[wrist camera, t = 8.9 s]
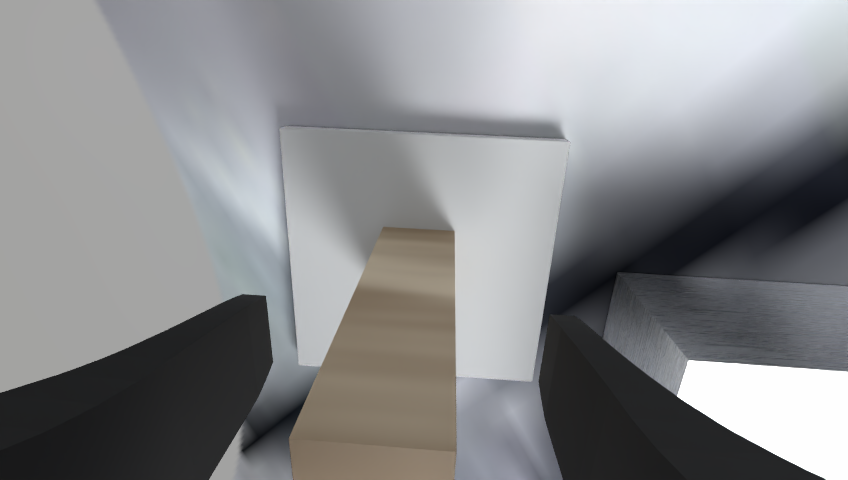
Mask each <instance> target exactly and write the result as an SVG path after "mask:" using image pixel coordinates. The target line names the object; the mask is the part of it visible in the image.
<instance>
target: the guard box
mask: <svg viewBox="0 0 848 480" xmlns="http://www.w3.org/2000/svg"><path fill="white" fill-rule="evenodd" d="M603 339H604V340H605V341H606V342H607V343H609V344H610V345H611V346H612V347H613V348H615V349H616V350H617V351H618V352H619V353H621V354H622V355H623V356H624V357H626V358H627V359H628V360H629V361H630V362H632V363H633V364H634V365H636V366H637V367H638V368H639V369H641V370H642V371H643V372H645V373H646V374H647V375H649V376H650V377H651V378H653V379H654V380H655V381H657V382H658V383H660V384H661V385H662V386H664V387H665V388H666V389H668V390H669V391H671V392H672V393H673V394H675V395H676V396H678V397H679V398H681V399H682V400H684V401H685V402H687V403H688V404H690V405H691V406H693V407H695V408H696V409H698V410H699V411H701V412H702V413H704V414H706V415H707V416H709V417H710V418H712V419H714V420H715V421H717V422H718V423H720V424H722V425H724V426H725V427H727V428H729V429H730V430H732V431H734V432H736V433H737V434H739V435H741V436H743V437H745V438H746V439H748V440H750V441H752V442H754V443H756V444H758V445H759V446H761V447H763V448H765V449H767V450H769V451H770V452H772V453H774V454H776V455H778V456H780V457H782V458H784V459H786V460H788V461H790V462H792V463H794V464H796V465H798V466H800V467H802V468H804V469H806V470H808V471H810V472H812V473H814V474H817V475H819V476H821V477H823V478H825V479H827V480H848V286H837V285H821V284H804V283H788V282H771V281H755V280H738V279H722V278H705V277H689V276H672V275H656V274H639V273H623V272H617V276H616V280H615V285H614V289H613V294H612V298H611V303H610V307H609V312H608V316H607V321H606V325H605V330H604V334H603Z"/></svg>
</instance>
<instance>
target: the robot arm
mask: <svg viewBox="0 0 848 480" xmlns="http://www.w3.org/2000/svg"><path fill="white" fill-rule="evenodd" d="M272 364H273V357H272V348H271V339H270V330H269V320H268V311H267V302H266V296H260V295H245V294H242V295H240V296H237V297H234V298H232V299H230V300H227V301H225V302H223V303H221V304H219V305H217V306H215V307H213V308H211V309H209V310H207V311H205V312H203V313H201V314H199V315H197V316H195V317H193V318H190V319H189V320H186V321H184V322H182V323H180V324H178V325H176V326H174V327H172V328H170V329H168V330H166V331H164V332H162V333H160V334H157V335H155V336H153V337H151V338H148V339H146V340H144V341H142V342H140V343H137V344H135V345H133V346H131V347H129V348H126V349H124V350H122V351H119V352H117V353H115V354H112V355H110V356H107V357H105V358H102V359H100V360H97V361H94V362H92V363H89V364H86V365H84V366H81V367H79V368H76V369H73V370H70V371H67V372H65V373H62V374H59V375H56V376H53V377H49V378H46V379H43V380H40V381H37V382H34V383H30V384H27V385H24V386H21V387H18V388H15V389H11V390H9V391H5V392H2V393H0V480H209V478H210V477H211V475H212V473H213V472H214V470H215V468H216V466H217V465H218V463H219V462H220V460H221V458H222V457H223V455H224V454H225V452H226V450H227V449H228V447H229V445H230V444H231V442H232V440H233V439H234V437H235V435H236V434H237V432H238V430H239V429H240V427H241V425H242V424H243V422H244V420H245V419H246V417H247V415H248V414H249V412H250V410H251V409H252V407H253V405H254V403H255V402H256V400H257V398H258V396H259V394H260V392H261V390H262V388H263V385H264V383H265V381H266V378H267V376H268V373H269V371H270V368H271V366H272ZM539 387H540V393H541V400H542V406H543V411H544V417H545V421H546V424H547V428H548V431H549V435H550V438H551V441H552V445H553V448H554V451H555V455H556V458H557V461H558V464H559V468H560V471H561V474H562V477H563V480H827V479H825V478H823V477H821V476H819V475H817V474H814V473H812V472H810V471H808V470H806V469H804V468H802V467H800V466H798V465H796V464H794V463H792V462H790V461H788V460H786V459H784V458H782V457H780V456H778V455H776V454H774V453H772V452H770V451H769V450H767V449H765V448H763V447H761V446H759V445H758V444H756V443H754V442H752V441H750V440H748V439H746V438H745V437H743V436H741V435H739V434H737V433H736V432H734V431H732V430H730V429H729V428H727V427H725V426H724V425H722V424H720V423H718V422H717V421H715V420H714V419H712V418H710V417H709V416H707V415H706V414H704V413H702V412H701V411H699V410H698V409H696V408H695V407H693V406H691V405H690V404H688V403H687V402H685V401H684V400H682V399H681V398H679V397H678V396H676V395H675V394H673V393H672V392H671V391H669V390H668V389H666V388H665V387H664V386H662V385H661V384H660V383H658V382H657V381H655V380H654V379H653V378H651V377H650V376H649V375H647V374H646V373H645V372H643V371H642V370H641V369H639V368H638V367H637V366H636V365H634V364H633V363H632V362H630V361H629V360H628V359H627V358H626V357H624V356H623V355H622V354H621V353H619V352H618V351H617V350H616V349H615V348H613V347H612V346H611V345H610V344H609V343H607V342H606V341H605V340H604V339H603V338H601V337H600V336H599V335H598V334H597V333H596V332H594V331H593V330H592V329H591V328H590V327H588V326H587V325H586V324H585V323H583V322H582V321H581V320H580V319H578V318H577V317H575V316H567V315H551V314H550V316H549V322H548V328H547V334H546V340H545V346H544V352H543V358H542V364H541V370H540V376H539Z"/></svg>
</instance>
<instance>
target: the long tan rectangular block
mask: <svg viewBox="0 0 848 480" xmlns="http://www.w3.org/2000/svg"><path fill="white" fill-rule="evenodd" d="M289 446H290V456H291V465H292V475H293V480H454V475H455V463H456V326H455V231H448V230H430V229H413V228H395V227H383V228H382V231H381V233H380V235H379V237H378V240H377V242H376V244H375V246H374V249H373V251H372V253H371V255H370V258H369V260H368V262H367V264H366V266H365V269H364V271H363V273H362V275H361V278H360V280H359V282H358V284H357V287H356V289H355V291H354V293H353V296H352V298H351V300H350V302H349V305H348V307H347V309H346V311H345V314H344V316H343V318H342V320H341V323H340V325H339V327H338V329H337V332H336V334H335V336H334V338H333V341H332V343H331V345H330V347H329V349H328V352H327V354H326V356H325V358H324V361H323V363H322V365H321V367H320V370H319V372H318V374H317V376H316V379H315V381H314V383H313V385H312V388H311V390H310V392H309V394H308V397H307V399H306V401H305V403H304V406H303V408H302V410H301V412H300V415H299V417H298V419H297V421H296V424H295V426H294V428H293V430H292V432H291V435H290V437H289Z"/></svg>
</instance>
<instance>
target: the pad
mask: <svg viewBox="0 0 848 480" xmlns="http://www.w3.org/2000/svg"><path fill="white" fill-rule="evenodd" d="M279 132H280V144H281V156H282V168H283V180H284V192H285V204H286V216H287V228H288V241H289V253H290V265H291V277H292V289H293V301H294V313H295V325H296V337H297V349H298V361H299V365H306V366H320V367H321V365H322V363H323V361H324V358H325V356H326V354H327V352H328V349H329V347H330V345H331V343H332V341H333V338H334V336H335V334H336V332H337V329H338V327H339V325H340V323H341V320H342V318H343V316H344V314H345V311H346V309H347V307H348V305H349V302H350V300H351V298H352V296H353V293H354V291H355V289H356V287H357V284H358V282H359V280H360V278H361V275H362V273H363V271H364V269H365V266H366V264H367V262H368V260H369V258H370V255H371V253H372V251H373V249H374V246H375V244H376V242H377V240H378V237H379V235H380V233H381V231H382V228H383V227H395V228H413V229H430V230H448V231H455V326H456V376H458V377H472V378H486V379H500V380H514V381H527V382H532V379H533V373H534V367H535V360H536V354H537V348H538V342H539V335H540V329H541V323H542V317H543V310H544V304H545V298H546V291H547V285H548V279H549V273H550V266H551V260H552V254H553V248H554V241H555V235H556V229H557V223H558V216H559V210H560V204H561V198H562V191H563V185H564V179H565V173H566V166H567V160H568V154H569V148H570V141H568V140H566V139H553V138H532V137H511V136H490V135H469V134H448V133H427V132H406V131H384V130H363V129H342V128H321V127H300V126H284V127H281V128H279Z"/></svg>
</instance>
